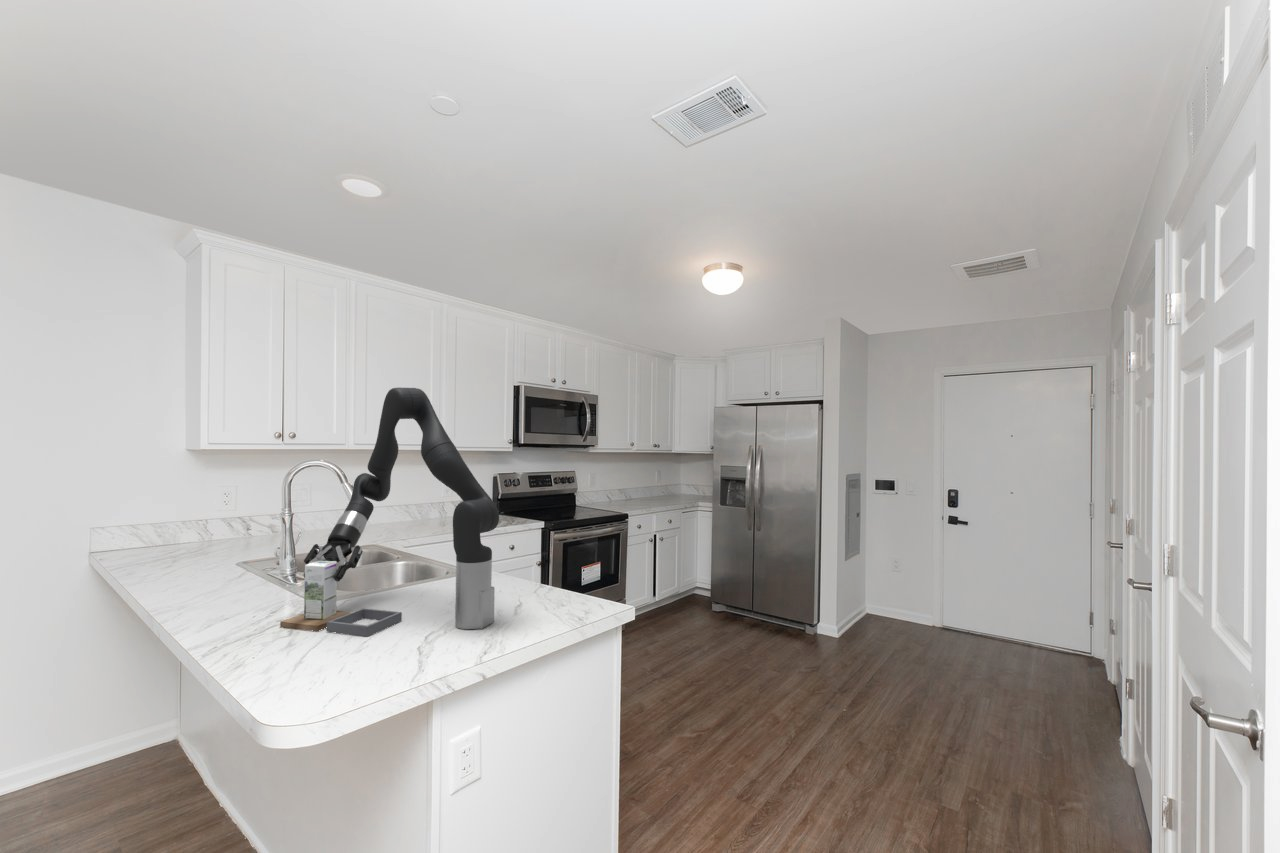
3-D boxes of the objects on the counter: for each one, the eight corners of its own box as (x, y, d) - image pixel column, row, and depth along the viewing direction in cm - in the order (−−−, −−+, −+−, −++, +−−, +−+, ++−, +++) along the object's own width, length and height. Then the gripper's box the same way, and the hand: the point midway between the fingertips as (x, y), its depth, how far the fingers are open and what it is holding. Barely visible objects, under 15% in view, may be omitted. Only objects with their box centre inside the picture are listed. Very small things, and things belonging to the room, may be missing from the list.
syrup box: (337, 613, 154) (338, 560, 154) (322, 620, 148) (324, 565, 148) (317, 613, 154) (319, 559, 155) (302, 619, 148) (304, 564, 149)
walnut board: (352, 617, 155) (353, 612, 155) (317, 631, 143) (317, 625, 143) (317, 613, 158) (318, 608, 158) (280, 627, 147) (280, 621, 147)
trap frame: (401, 621, 152) (401, 612, 152) (367, 636, 140) (367, 626, 140) (363, 617, 156) (363, 608, 156) (326, 631, 144) (326, 621, 144)
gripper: (319, 522, 162) (289, 571, 150) (366, 523, 160) (340, 572, 148) (330, 537, 167) (303, 586, 155) (376, 538, 165) (351, 587, 154)
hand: (321, 579), depth 152 cm, fingers open, 8 cm apart
